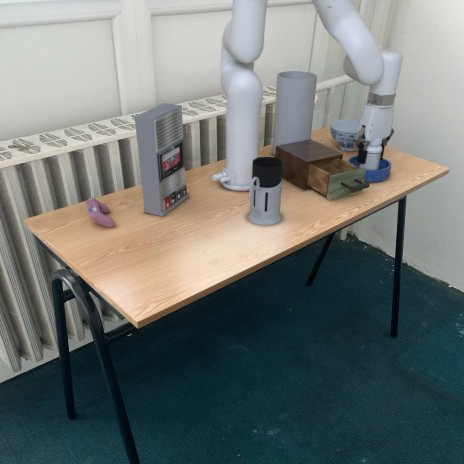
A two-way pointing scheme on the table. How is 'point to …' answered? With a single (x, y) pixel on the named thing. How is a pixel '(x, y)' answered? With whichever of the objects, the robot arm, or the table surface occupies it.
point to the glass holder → (265, 191)
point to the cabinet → (302, 159)
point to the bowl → (374, 175)
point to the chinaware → (345, 133)
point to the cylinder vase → (294, 107)
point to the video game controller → (99, 212)
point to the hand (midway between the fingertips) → (369, 159)
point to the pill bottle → (373, 155)
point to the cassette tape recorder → (161, 158)
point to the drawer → (336, 178)
